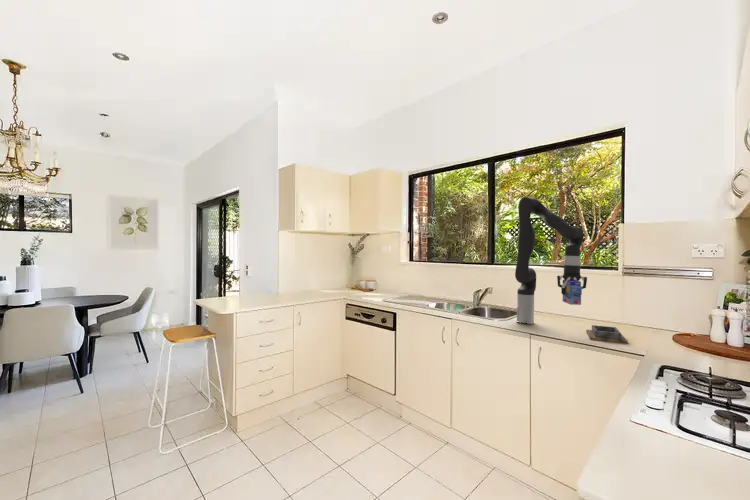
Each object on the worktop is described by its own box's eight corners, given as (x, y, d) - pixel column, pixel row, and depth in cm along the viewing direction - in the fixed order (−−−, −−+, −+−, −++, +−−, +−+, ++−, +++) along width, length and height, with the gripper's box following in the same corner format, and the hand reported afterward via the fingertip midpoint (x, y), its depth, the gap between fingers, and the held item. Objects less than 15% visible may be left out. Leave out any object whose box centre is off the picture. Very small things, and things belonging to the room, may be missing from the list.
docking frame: (590, 339, 165) (590, 331, 165) (586, 331, 181) (586, 323, 181) (627, 343, 158) (627, 335, 158) (620, 335, 174) (620, 327, 174)
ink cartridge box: (561, 301, 183) (562, 275, 183) (572, 301, 183) (572, 275, 183) (570, 304, 174) (570, 276, 173) (581, 305, 173) (582, 277, 173)
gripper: (556, 264, 178) (556, 295, 178) (588, 265, 171) (588, 297, 172) (556, 263, 184) (555, 293, 185) (587, 264, 178) (586, 295, 178)
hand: (571, 295), depth 178 cm, fingers closed on ink cartridge box, 6 cm apart
